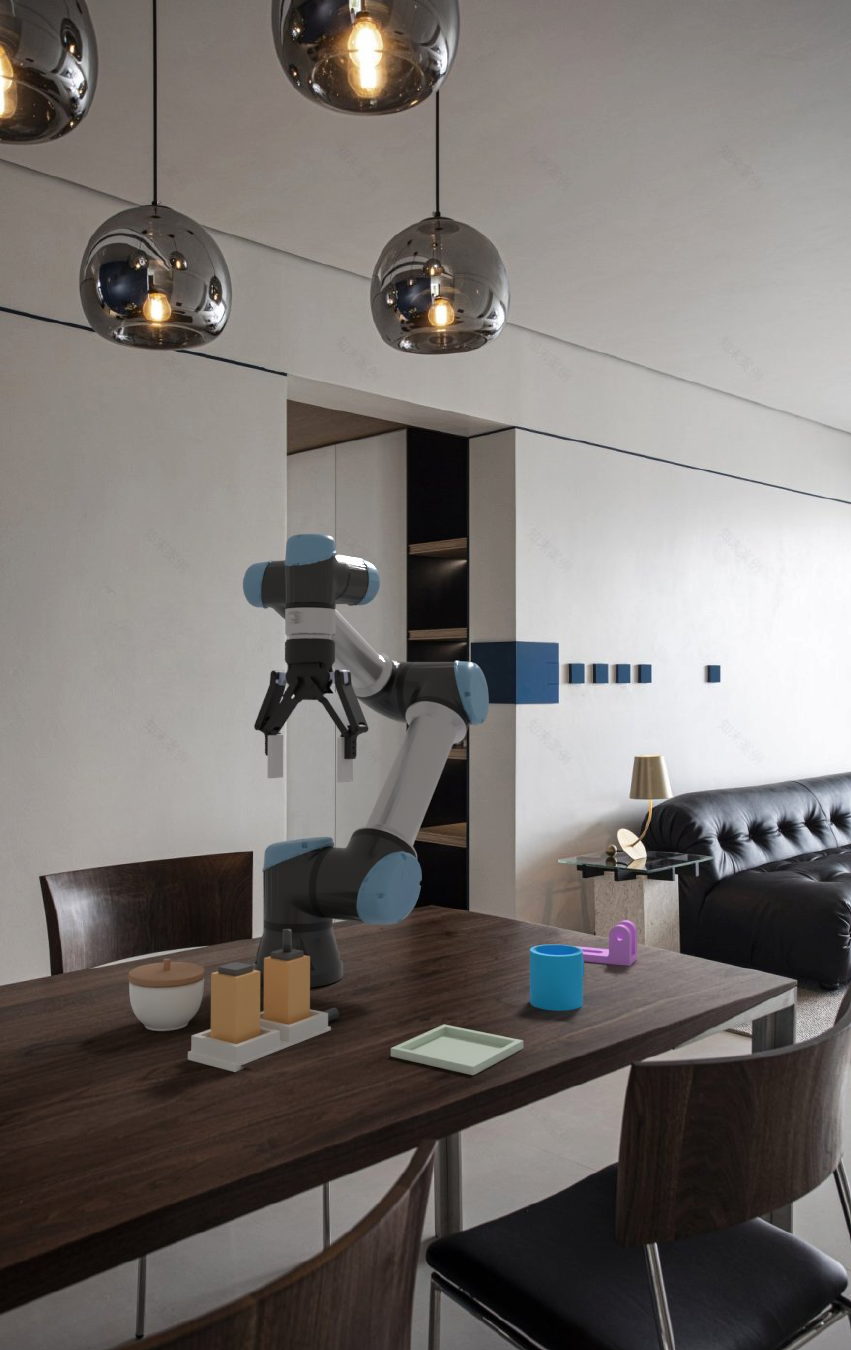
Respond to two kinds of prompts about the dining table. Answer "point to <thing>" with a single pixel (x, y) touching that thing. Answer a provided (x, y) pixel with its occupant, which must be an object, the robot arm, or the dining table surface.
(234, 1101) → the dining table surface
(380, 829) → the robot arm
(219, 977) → the orange capped pillar
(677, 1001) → the dining table surface
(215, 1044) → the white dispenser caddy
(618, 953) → the bracket
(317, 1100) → the dining table surface
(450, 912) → the dining table surface
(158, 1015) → the lidded jar
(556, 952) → the mug
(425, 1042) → the tray
